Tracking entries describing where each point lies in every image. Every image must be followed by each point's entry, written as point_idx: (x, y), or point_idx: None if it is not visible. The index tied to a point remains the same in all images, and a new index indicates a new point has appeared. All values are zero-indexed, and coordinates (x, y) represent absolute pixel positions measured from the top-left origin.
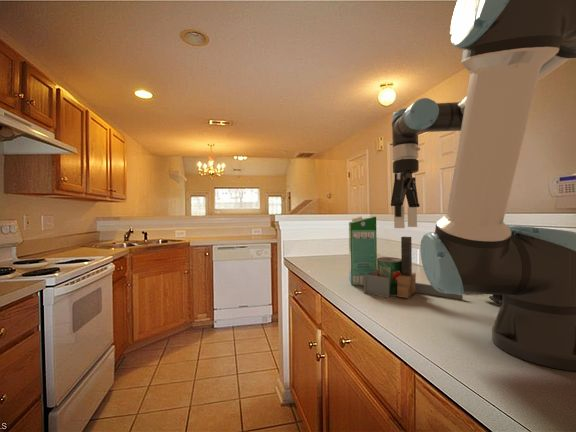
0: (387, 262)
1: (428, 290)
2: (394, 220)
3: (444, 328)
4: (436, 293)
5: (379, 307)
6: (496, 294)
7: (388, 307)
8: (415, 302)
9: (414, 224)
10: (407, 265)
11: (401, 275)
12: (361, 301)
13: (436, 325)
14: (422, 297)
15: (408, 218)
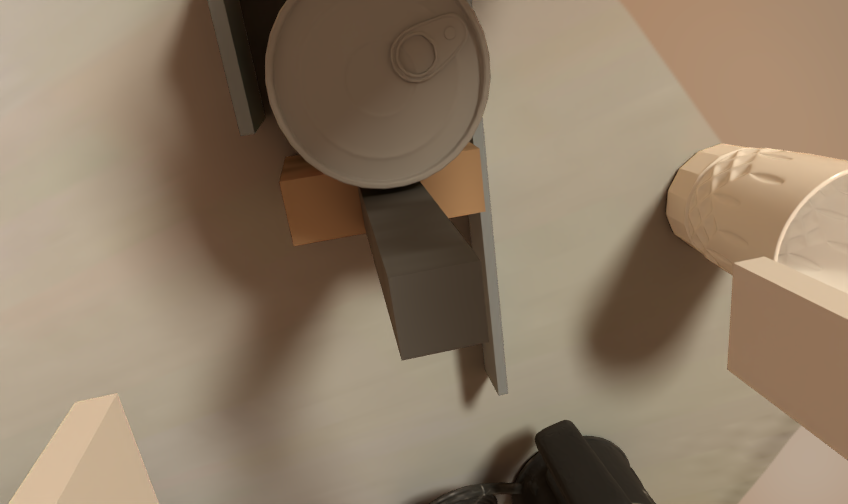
0: (277, 113)
1: (476, 245)
2: (22, 491)
3: None
4: None
5: (49, 170)
6: (545, 481)
7: (93, 202)
8: (285, 254)
9: (752, 364)
10: (368, 236)
11: (340, 182)
12: (45, 36)
13: None
14: None
15: (841, 330)
